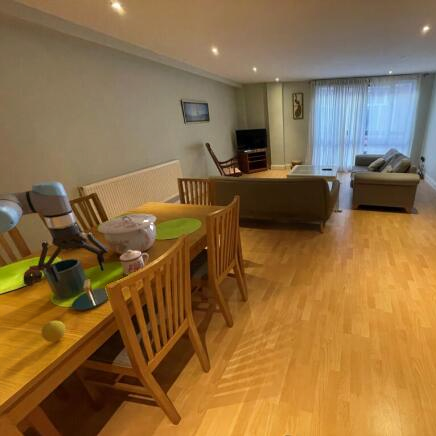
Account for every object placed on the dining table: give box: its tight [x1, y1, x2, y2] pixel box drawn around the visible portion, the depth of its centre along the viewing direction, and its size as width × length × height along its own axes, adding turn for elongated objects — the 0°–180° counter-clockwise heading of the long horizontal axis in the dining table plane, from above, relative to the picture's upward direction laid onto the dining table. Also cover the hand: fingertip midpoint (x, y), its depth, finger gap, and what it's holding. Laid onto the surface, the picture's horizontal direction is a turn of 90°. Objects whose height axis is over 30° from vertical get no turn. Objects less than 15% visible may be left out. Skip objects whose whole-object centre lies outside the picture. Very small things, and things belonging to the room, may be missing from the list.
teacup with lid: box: [119, 250, 150, 276], centre depth 117 cm, size 12×9×12 cm
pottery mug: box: [22, 264, 45, 286], centre depth 111 cm, size 12×10×8 cm
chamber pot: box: [97, 213, 157, 255], centre depth 135 cm, size 28×28×21 cm
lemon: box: [41, 320, 67, 343], centre depth 80 cm, size 6×6×8 cm
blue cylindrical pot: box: [42, 258, 88, 300], centre depth 103 cm, size 12×12×13 cm
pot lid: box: [71, 278, 109, 311], centre depth 97 cm, size 13×13×8 cm
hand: (81, 274), depth 94 cm, fingers open, 13 cm apart
